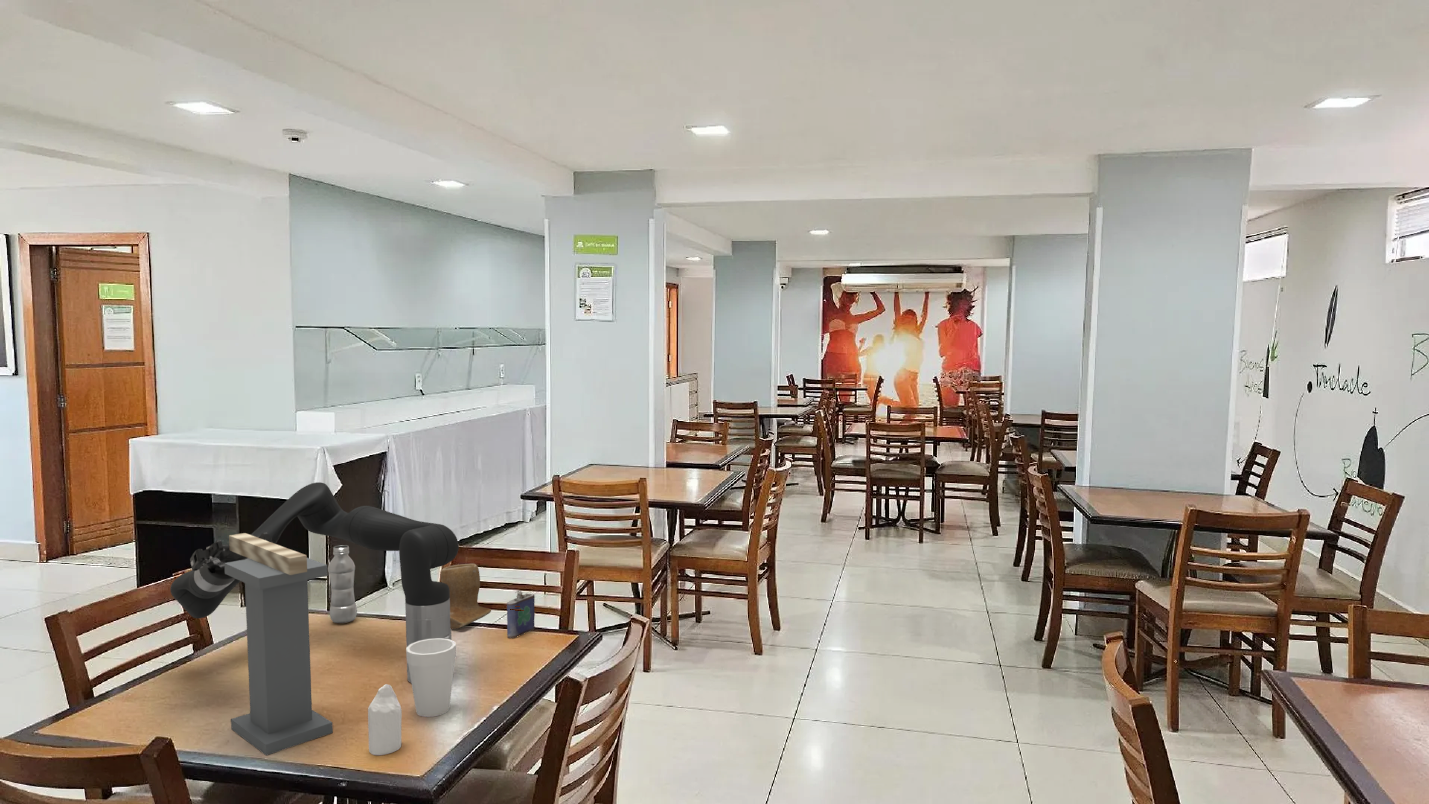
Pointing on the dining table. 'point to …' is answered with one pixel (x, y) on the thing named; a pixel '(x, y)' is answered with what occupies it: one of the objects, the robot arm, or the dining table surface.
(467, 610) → the brown curved chair
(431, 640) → the foam cup
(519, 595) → the flask
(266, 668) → the stand
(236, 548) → the light wooden bar
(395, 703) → the white pointed cylinder
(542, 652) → the dining table surface
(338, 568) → the plastic bottle
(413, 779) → the dining table surface
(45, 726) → the dining table surface
